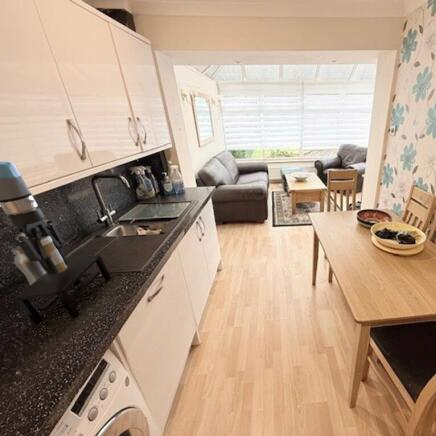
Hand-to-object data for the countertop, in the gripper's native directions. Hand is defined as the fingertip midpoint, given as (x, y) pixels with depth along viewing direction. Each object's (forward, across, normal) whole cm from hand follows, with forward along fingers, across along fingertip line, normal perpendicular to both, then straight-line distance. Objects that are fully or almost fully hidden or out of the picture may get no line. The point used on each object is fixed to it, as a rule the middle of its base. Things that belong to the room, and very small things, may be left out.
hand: (59, 268), depth 87 cm
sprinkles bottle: (+1, 0, 0) cm, 1 cm away
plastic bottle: (+14, +10, +19) cm, 26 cm away
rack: (+14, 0, 0) cm, 14 cm away
